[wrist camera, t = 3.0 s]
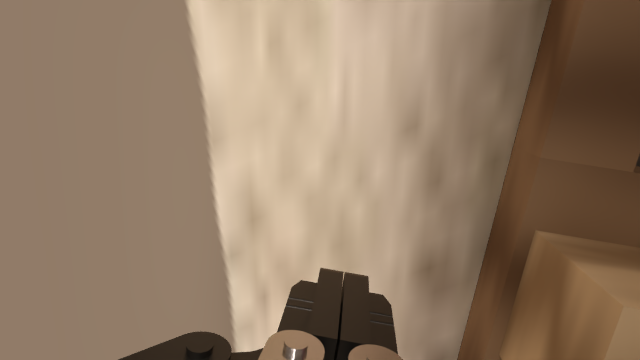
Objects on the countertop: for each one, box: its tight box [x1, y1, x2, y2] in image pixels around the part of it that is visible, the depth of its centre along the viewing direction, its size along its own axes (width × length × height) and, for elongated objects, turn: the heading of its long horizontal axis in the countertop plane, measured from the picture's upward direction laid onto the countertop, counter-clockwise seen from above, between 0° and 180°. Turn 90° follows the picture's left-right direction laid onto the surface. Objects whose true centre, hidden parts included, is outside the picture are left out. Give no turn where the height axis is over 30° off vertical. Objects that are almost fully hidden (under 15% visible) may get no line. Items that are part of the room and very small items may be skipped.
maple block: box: [499, 230, 640, 360], centre depth 12 cm, size 5×5×5 cm
